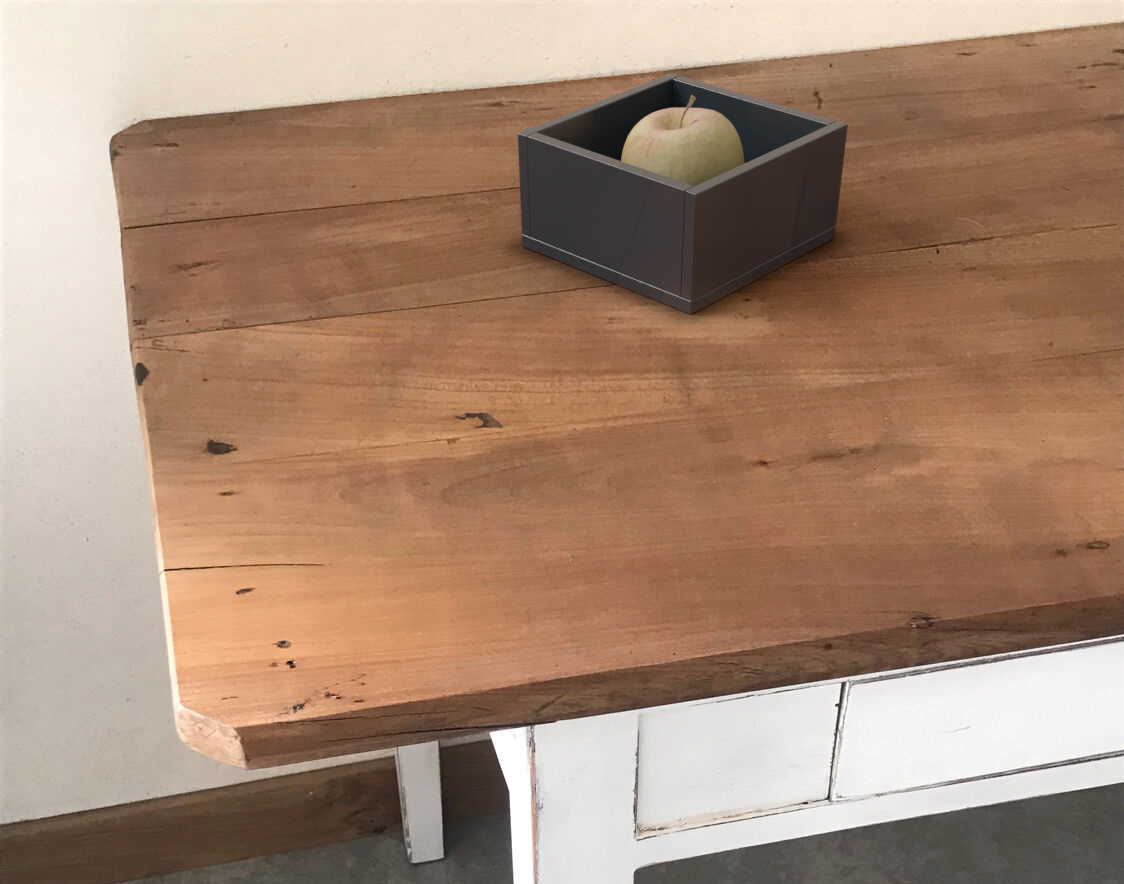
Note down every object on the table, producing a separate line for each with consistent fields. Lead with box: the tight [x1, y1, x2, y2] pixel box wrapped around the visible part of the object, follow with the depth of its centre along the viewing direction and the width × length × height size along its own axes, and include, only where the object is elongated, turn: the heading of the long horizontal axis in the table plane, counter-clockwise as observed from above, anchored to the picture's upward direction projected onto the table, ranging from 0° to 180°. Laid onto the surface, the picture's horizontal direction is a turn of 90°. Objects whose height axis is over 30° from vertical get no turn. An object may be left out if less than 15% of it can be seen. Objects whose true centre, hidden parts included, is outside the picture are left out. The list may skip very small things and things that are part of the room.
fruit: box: [621, 95, 744, 187], centre depth 81 cm, size 8×7×8 cm
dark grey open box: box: [517, 72, 849, 315], centre depth 82 cm, size 14×14×7 cm
